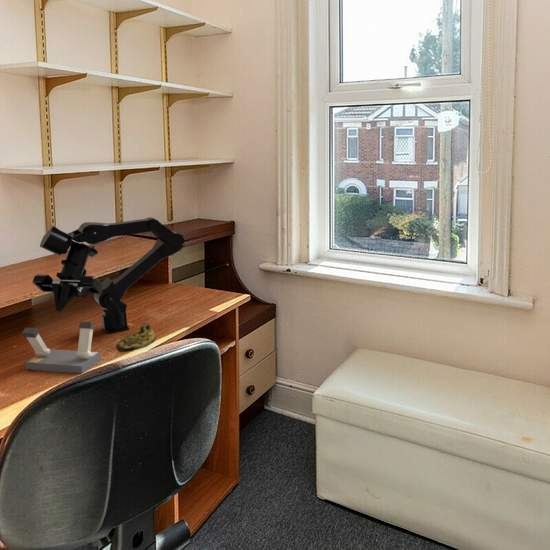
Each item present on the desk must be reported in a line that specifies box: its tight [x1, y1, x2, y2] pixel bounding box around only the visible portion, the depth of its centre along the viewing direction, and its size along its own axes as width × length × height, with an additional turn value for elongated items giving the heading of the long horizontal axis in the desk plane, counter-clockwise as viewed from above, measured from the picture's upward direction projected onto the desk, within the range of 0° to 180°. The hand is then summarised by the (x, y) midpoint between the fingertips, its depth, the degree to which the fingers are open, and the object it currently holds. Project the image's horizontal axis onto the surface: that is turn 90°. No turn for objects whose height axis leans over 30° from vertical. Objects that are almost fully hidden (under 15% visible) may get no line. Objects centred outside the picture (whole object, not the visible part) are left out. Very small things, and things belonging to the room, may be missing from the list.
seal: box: [117, 321, 157, 352], centre depth 159 cm, size 9×5×15 cm
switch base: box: [24, 348, 102, 375], centre depth 145 cm, size 9×16×2 cm, turn 77°
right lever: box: [76, 321, 96, 358], centre depth 144 cm, size 2×3×9 cm, turn 77°
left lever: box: [21, 327, 51, 356], centre depth 143 cm, size 2×3×9 cm
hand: (57, 311), depth 152 cm, fingers closed
